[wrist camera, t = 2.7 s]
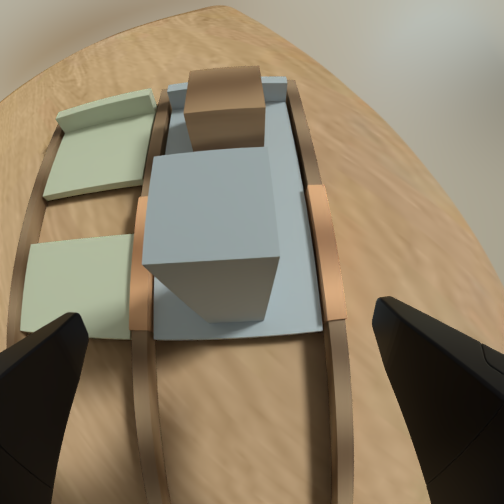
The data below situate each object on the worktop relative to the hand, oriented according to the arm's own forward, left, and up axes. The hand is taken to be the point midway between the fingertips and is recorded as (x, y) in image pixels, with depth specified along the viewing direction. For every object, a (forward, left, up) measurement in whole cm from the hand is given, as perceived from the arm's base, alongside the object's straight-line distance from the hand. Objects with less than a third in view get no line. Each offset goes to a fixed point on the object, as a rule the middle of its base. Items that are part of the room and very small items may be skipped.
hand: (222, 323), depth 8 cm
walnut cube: (+15, 0, -9) cm, 18 cm away
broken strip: (+10, +12, -10) cm, 18 cm away
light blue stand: (+10, 0, -10) cm, 14 cm away
